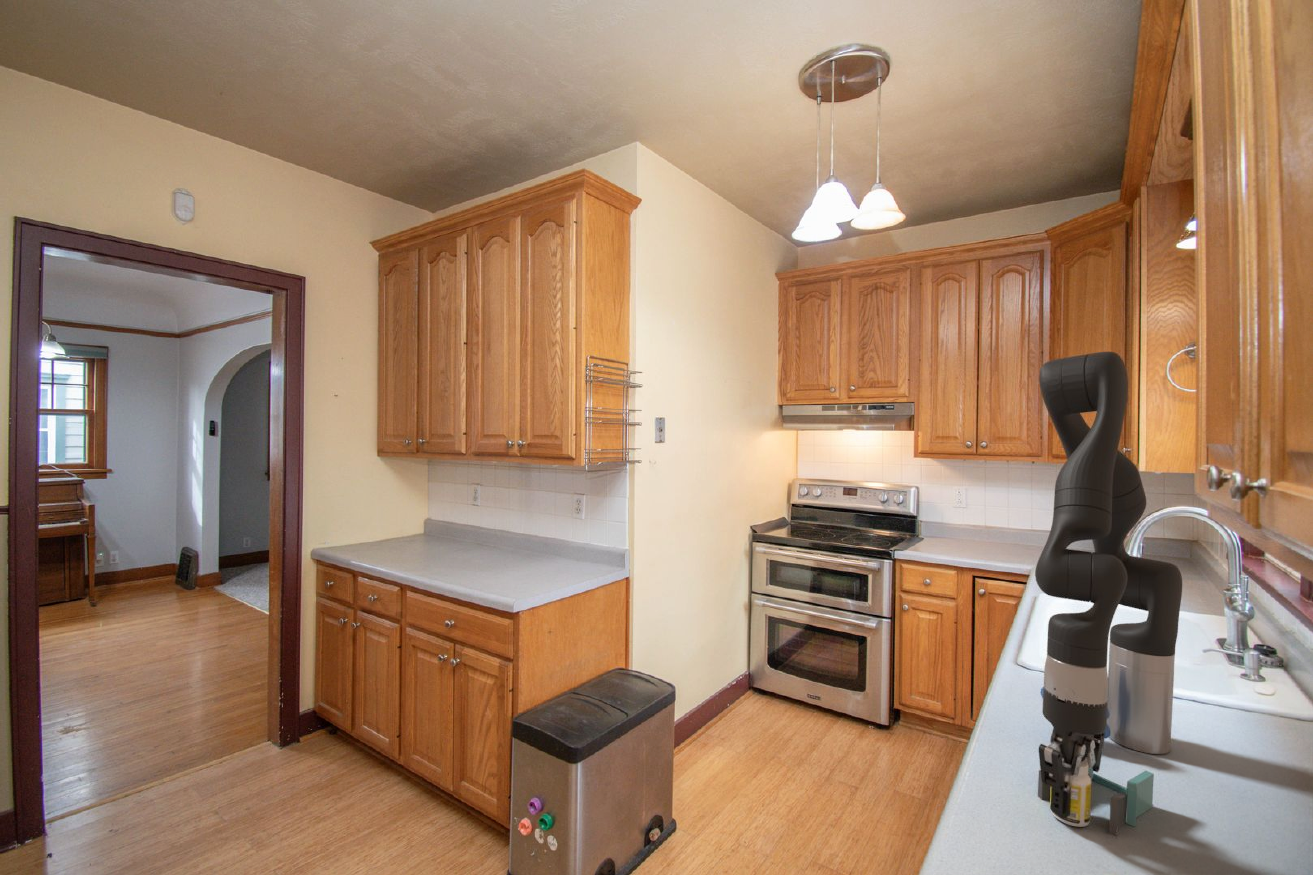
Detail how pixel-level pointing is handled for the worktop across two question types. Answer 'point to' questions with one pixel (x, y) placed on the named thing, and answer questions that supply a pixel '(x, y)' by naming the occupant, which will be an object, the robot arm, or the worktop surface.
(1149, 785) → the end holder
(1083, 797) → the supplement bottle
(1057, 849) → the worktop surface
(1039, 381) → the robot arm
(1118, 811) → the pair of grey blocks
